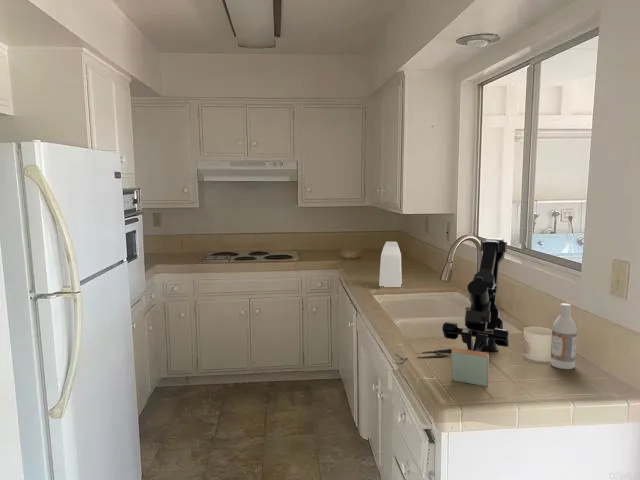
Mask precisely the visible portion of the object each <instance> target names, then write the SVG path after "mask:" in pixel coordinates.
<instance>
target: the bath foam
mask: <svg viewBox="0 0 640 480" xmlns="http://www.w3.org/2000/svg"><path fill="white" fill-rule="evenodd" d="M559 309H560V311H559V315H558V317H556V319H555V321H554V322H553V325H552V329H551V342H552V343H551V345H550V346H551V347H550V365H551V366H552V367H554V368H557V369H560V370H572V369H574V368H575V365H576V353H577V351H576V350H577V337H578V336H577V335H578V332H577V325H576V324H575V321H574V320H573V318H572V317H571V316H572V315H571V314H572V313H571V311H572V304H570V303H565V302H564V303H563V302H562V303H560V308H559Z"/></svg>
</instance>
